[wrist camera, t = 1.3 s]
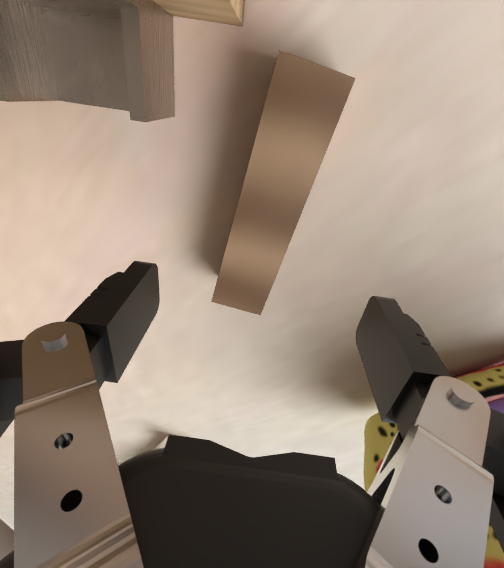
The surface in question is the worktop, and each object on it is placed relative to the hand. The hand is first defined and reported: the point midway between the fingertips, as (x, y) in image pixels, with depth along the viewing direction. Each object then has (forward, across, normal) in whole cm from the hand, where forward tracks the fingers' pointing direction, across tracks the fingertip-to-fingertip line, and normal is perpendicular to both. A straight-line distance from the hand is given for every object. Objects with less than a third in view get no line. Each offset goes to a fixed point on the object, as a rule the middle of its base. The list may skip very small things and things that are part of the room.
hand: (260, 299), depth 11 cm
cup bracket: (+13, +11, -7) cm, 18 cm away
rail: (+13, 0, 0) cm, 13 cm away
